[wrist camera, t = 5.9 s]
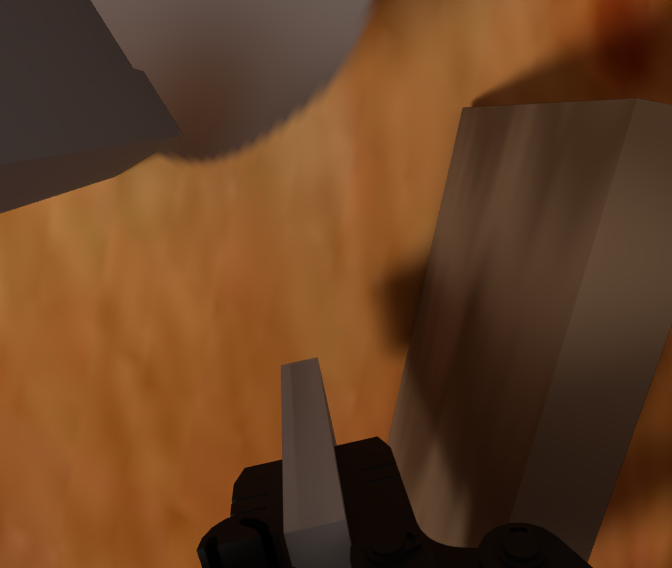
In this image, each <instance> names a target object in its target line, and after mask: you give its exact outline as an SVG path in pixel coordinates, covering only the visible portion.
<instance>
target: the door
mask: <svg viewBox="0 0 672 568" xmlns="http://www.w3.org/2000/svg"><path fill="white" fill-rule="evenodd" d="M671 325H672V105H670V104H665V103H660V102H655V101H650V100H645V99H639V98H630V99H612V100H593V101H575V102H556V103H538V104H520V105H501V106H483V107H465V108H463V109H462V113H461V118H460V122H459V127H458V131H457V136H456V140H455V144H454V149H453V153H452V158H451V162H450V167H449V171H448V176H447V180H446V184H445V189H444V193H443V198H442V202H441V207H440V211H439V216H438V220H437V224H436V229H435V233H434V238H433V242H432V247H431V251H430V256H429V260H428V264H427V269H426V273H425V278H424V282H423V287H422V291H421V296H420V300H419V304H418V309H417V313H416V318H415V322H414V327H413V331H412V336H411V340H410V345H409V349H408V353H407V358H406V362H405V367H404V371H403V376H402V380H401V385H400V389H399V393H398V398H397V402H396V407H395V411H394V416H393V420H392V425H391V429H390V433H389V438H388V442H387V445H389V446H390V447H391V449H392V452H393V455H394V458H395V461H396V464H397V466H398V469H399V472H400V475H401V478H402V481H403V484H404V486H405V489H406V492H407V495H408V498H409V501H410V504H411V506H412V509H413V512H414V515H415V518H416V521H417V523H418V525H419V527H420V529H421V530H422V531H423V532H424V533H425V534H426V535H427V536H428V537H429V538H431V539H433V540H434V541H436V542H438V543H441V544H445V545H448V546H454V547H467V548H479V544H480V543H481V541H482V539H483V537H484V536H485V535H486V534H487V533H488V532H490V531H491V530H493V529H494V528H495V527H498V526H501V525H505V524H508V523H529V524H533V525H536V526H540V527H543V528H545V529H546V530H548V531H550V532H551V533H553V534H554V535H556V536H557V537H558V538H560V539H561V540H562V541H563V542H564V543H565V544H566V545H568V546H569V547H570V548H571V549H572V550H573V551H574V552H576V553H577V554H578V555H579V556H580V557H581V558H582V559H584V560H585V561H586V562H588V559H589V557H590V554H591V551H592V548H593V545H594V543H595V540H596V537H597V534H598V531H599V528H600V526H601V523H602V520H603V517H604V514H605V511H606V509H607V506H608V503H609V500H610V497H611V495H612V492H613V489H614V486H615V483H616V480H617V478H618V475H619V472H620V469H621V466H622V464H623V461H624V458H625V455H626V452H627V449H628V447H629V444H630V441H631V438H632V435H633V432H634V430H635V427H636V424H637V421H638V418H639V416H640V413H641V410H642V407H643V404H644V401H645V399H646V396H647V393H648V390H649V387H650V385H651V382H652V379H653V376H654V373H655V370H656V368H657V365H658V362H659V359H660V356H661V353H662V351H663V348H664V345H665V342H666V339H667V337H668V334H669V331H670V328H671Z"/></svg>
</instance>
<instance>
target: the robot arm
mask: <svg viewBox="0 0 672 568" xmlns="http://www.w3.org/2000/svg"><path fill="white" fill-rule="evenodd" d="M281 406H282V460H278V461H274V462H269V463H265V464H260V465H256V466H251V467H247V468H244V470H243V471H242V473H241V474H240V476H239V477H238V479H237V480H236V482H235V483H234V487H233V496H232V504H231V513H230V515H231V517H230V518H227V519H225V520H223V521H222V522H220V523H218V524H217V525H215V526H214V527H212V528H211V529H210V530H209V531H208V532H207V533H206V535H205V536H204V537H203V538H202V539H201V542H200V544H199V546H198V548H197V553H198V556H199V559H200V562H201V565H202V568H593V567H591V566H590V565H589V564H588V563H587V562H586V561H585V560H584V559H582V558H581V557H580V556H579V555H578V554H577V553H576V552H574V551H573V550H572V549H571V548H570V547H569V546H568V545H566V544H565V543H564V542H563V541H562V540H561V539H560V538H558V537H557V536H556V535H554V534H553V533H551V532H550V531H548V530H546V529H545V528H543V527H540V526H536V525H533V524H529V523H508V524H505V525H501V526H498V527H495V528H494V529H493V530H491V531H490V532H488V533H487V534H486V535H485V536H484V537H483V539H482V541H481V543H480V544H479V548H467V547H454V546H448V545H445V544H441V543H438V542H436V541H434V540H433V539H431V538H429V537H428V536H427V535H426V534H425V533H424V532H423V531H422V530H421V529H420V527H419V525H418V523H417V521H416V518H415V515H414V512H413V509H412V506H411V504H410V501H409V498H408V495H407V492H406V489H405V486H404V484H403V481H402V478H401V475H400V472H399V469H398V466H397V464H396V461H395V458H394V455H393V452H392V449H391V447H390V446H389V445H387V444H386V443H385V442H384V441H382V440H381V439H380V438H379V437H373V438H369V439H364V440H360V441H355V442H351V443H346V444H342V445H338V446H337V444H336V440H335V435H334V431H333V426H332V421H331V417H330V412H329V408H328V403H327V398H326V394H325V389H324V385H323V380H322V375H321V371H320V366H319V362H318V357H317V358H312V359H308V360H303V361H298V362H294V363H289V364H285V365H281Z"/></svg>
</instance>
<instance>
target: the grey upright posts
mask: <svg viewBox="0 0 672 568" xmlns="http://www.w3.org/2000/svg"><path fill="white" fill-rule="evenodd" d="M182 136H183V134H182V132H181V131H180V129H179V128H178V126H177V124H176V123H175V121H174V119H173V118H172V116H171V115H170V113H169V111H168V110H167V108H166V107H165V105H164V103H163V102H162V100H161V99H160V97H159V95H158V94H157V92H156V91H155V89H154V87H153V86H152V84H151V83H150V81H149V79H148V78H147V76H146V75H145V73H144V72H143V71H140V70H136V69H133V67H132V66H131V64H130V62H129V61H128V59H127V58H126V56H125V55H124V53H123V51H122V50H121V48H120V47H119V45H118V43H117V42H116V40H115V39H114V37H113V36H112V34H111V32H110V31H109V29H108V28H107V26H106V25H105V23H104V21H103V20H102V18H101V17H100V15H99V13H98V12H97V11H96V9H95V7H94V6H93V4H92V2H91V1H90V0H0V213H3V212H6V211H10V210H13V209H16V208H19V207H22V206H25V205H28V204H31V203H35V202H38V201H41V200H44V199H47V198H50V197H53V196H56V195H60V194H63V193H66V192H69V191H72V190H75V189H78V188H81V187H85V186H88V185H91V184H94V183H97V182H100V181H103V180H107V179H110V178H113V177H115V176H117V175H119V174H120V173H122V172H124V171H125V170H127V169H129V168H130V167H132V166H134V165H135V164H137V163H138V162H140V161H142V160H143V159H145V158H147V157H148V156H150V155H152V154H153V153H155V152H157V151H158V150H160V149H162V148H163V147H165V146H166V145H168V144H170V143H172V142H173V141H175V140H176V139H178V138H180V137H182Z"/></svg>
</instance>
